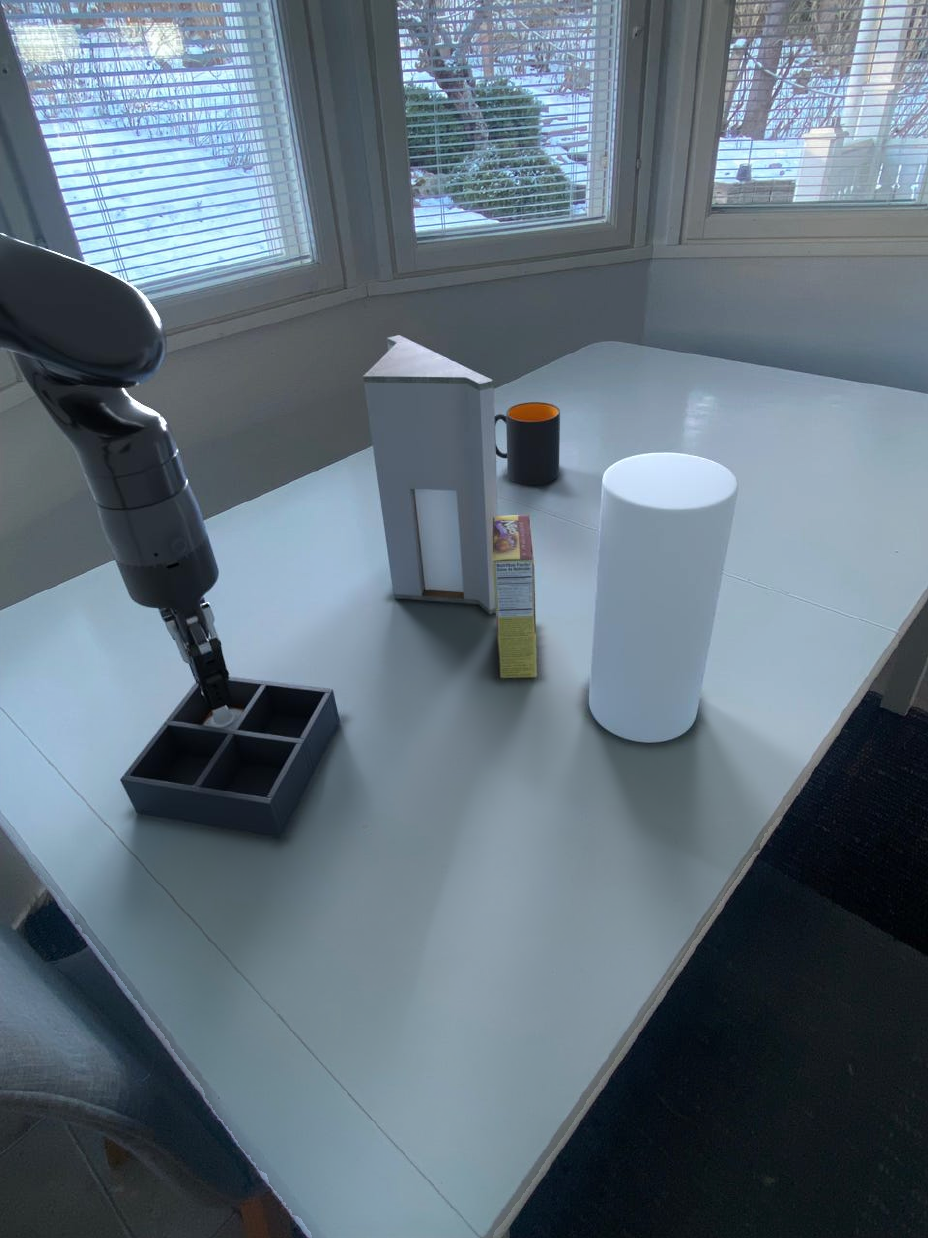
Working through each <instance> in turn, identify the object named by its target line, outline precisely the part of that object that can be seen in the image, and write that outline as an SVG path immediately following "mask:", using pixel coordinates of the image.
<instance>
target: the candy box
mask: <svg viewBox="0 0 928 1238" xmlns="http://www.w3.org/2000/svg"><path fill="white" fill-rule="evenodd" d="M531 528H532V527H531V515H530V514H510V515H509V514H508V515H498V516H495V517H493V574H494V589H495V605H496V612H495V619H496V636H497V648H498V663H499V664H498V665H499V678H500V679H532V678H537V675H538V674H537V673H538V672H537V670H538V669H537V666H538V665H537V624H536V623H537V621H536V620H537V619H536V614H537V613H536V583H535V581H536V580H535V579H536V577H535V556H534V555H535V554H534V547H533V538H532V529H531Z"/></svg>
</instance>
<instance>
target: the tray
mask: <svg viewBox="0 0 928 1238" xmlns="http://www.w3.org/2000/svg"><path fill="white" fill-rule="evenodd" d="M226 683H227V686H228V689H229V692H230V695H231V698H232V701H231V703H230V704H228V705H226V706H227V708H228V709H238V710H241V711H243V713H242V714H241V716H240V717H239V719H238V720H237V722H236V723H235V725H234V726H233V728H232V729H225V728H218V727H211V726H204V725H203V724H204V723H205V721H206V720H207V719H208V718H209V717H211V716H212V715H213V711H212V710H210V709H209V708H208V705H207V703H206V701H205V698H204V696H203V695H202V690H201V687H199V685H198V684H197V683H196V682H195V683H194V684H193V685H192V687H191V688H190V689H189V690H188V692H187V693H186V694H185V695H184V696H183V698H182V699H181V701H180V702H179V703H178V704H177V705H176V707H175V708H174V710H173V711H172V712H171V713H170V715H169V716H168V717H167V718H166V720H165V721H164V723H163V724H162V725H161V727H160V728H159V729H158V730H157V731H156V733H155V734H154V736H152V738H151V739H150V740H149V742H148V743H147V744H146V745H145V747H144V748H143V750H141V752H140V753H139V755H138V756H137V757H136V758H135V760H134V761H133V762H132V764H131V765H130V766H129V767H128V768H127V769H126V771H125V773H124V774H123V775H122V776H121V778H120V779H119V782H120V783H121V785H122V787H123V789H124V791H125V793H126V794H127V796H128V799H129V801H130V802H131V805H132V807H133V808H134V811H135V813H136V814H139V815H145V816H151V817H155V818H156V817H157V818H163V819H168V820H173V821H179V822H184V823H185V822H186V823H191V824H197V825H203V826H208V827H214V828H220V829H227V830H231V831H238V832H242V833H243V832H244V833H249V834H250V833H251V834H255V835H260V836H261V835H262V836H266V837H272V838H273V837H274V838H278V839H281V838H282V837H283V836H284V833H285V830H286V829H287V828H288V825H289V823H290V821H291V819H292V817H293V815H294V813H295V811H296V810H297V807H298V806H299V803H300V801H301V799H302V798H303V796H304V794H305V792H306V790H307V788H308V786H309V784H310V782H311V780H312V778H313V776H314V774H315V773H316V772H317V771H316V770H317V768H318V766H319V765H320V763H321V761H322V759H323V757H324V755H325V753H326V752H327V749H328V747H329V745H330V743H331V741H332V739H333V737H334V736H335V733H336V732H337V730H338V728H339V726H340V724H341V719H340V714H339V710H338V705H337V701H336V696H335V691H334V689H333V688H327V687H319V686H312V685H302V684H295V683H286V682H278V681H271V680H270V681H268V680H261V679H254V678H253V679H252V678H244V677H236V676H229V679H228V680H226Z"/></svg>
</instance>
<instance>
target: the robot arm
mask: <svg viewBox="0 0 928 1238" xmlns="http://www.w3.org/2000/svg"><path fill="white" fill-rule="evenodd" d="M167 343H168V342H167V333H166V330H165V326H164V324H163V322H162V319H161V317H160V315H159V313H158V311H157V310H156V308H155V307H154V305H153V304H152V302H150V301H149V300H148V298H147V297H146V296H145V295H144V293H142V292H141V291H140V290H138V289H137V288H136V287H134V286H133V285H132V284H130V283H129V282H127V281H125V280H124V279H122V278H120V277H118V276H116V275H115V274H113V273H111V272H108V271H106V270H103V269H101V268H98V267H96V266H93V265H91V264H88V263H86V262H83V261H80V260H78V259H75V258H73V257H72V258H71V257H69V256H66V255H63V254H61V253H58V252H55V251H52V250H50V249H46V248H44V247H41V246H38V245H34V244H31V243H28V242H25V241H22V240H19V239H16V238H14V237H12V236H9V235H6V234H4V233H2V232H0V349H1V350H5V351H9V352H11V355H12V357H13V359H14V361H15V363H16V366H17V368H18V370H19V372H20V374H21V375H22V377H23V378H24V380H25V382H26V383H27V385H28V386H29V387H30V389H31V390H32V392H33V394H34V395H35V397H36V398H37V399H38V401H39V402H40V404H41V406H42V407H43V408H44V410H45V411H46V412H47V414H48V415H49V417H50V419H51V420H52V422H53V423H54V425H55V426H56V427H57V429H58V430H59V431H60V433H61V434H62V435H63V436H64V437H65V439H66V440H67V441H68V443H69V444H70V445H71V447H72V448H73V450H74V451H75V454H76V456H77V459H78V462H79V464H80V467H81V470H82V472H83V474H84V477H85V480H86V482H87V484H88V487H89V491H90V492H91V495H92V497H93V500H94V502H95V505H96V509H97V513H98V516H99V521H100V525H101V528H102V531H103V534H104V536H105V539H106V541H107V543H108V546H109V548H110V549H109V550H110V551H111V553H112V556H113V558H114V561H115V563H116V566H117V568H118V571H119V573H120V576H121V578H122V580H123V583H124V586H125V588H126V590H127V593H128V595H129V597H130V599H131V600H132V601H133V602H135V603H136V604H138V605H139V606H142V607H145V608H150V609H157V611H158V612H159V615H160V617H161V619H162V621H163V622H164V624H165V627H166V630H167V632H168V633H169V635H170V636H171V638H172V640H173V641H175V644H176V646H177V649H178V651H179V654H180V657H181V658H182V660H183V662H184V663H185V664H188V666H189V668H190V671H191V674H192V676H193V679H194V681H195V683H197V684H198V685H199V687H201V690H202V692H203V695H204V698H205V701H206V703H207V705H208V708H209V709H210V710H216V709H218V708H221V707H223V706H226V705H228V704H230V703H231V701H232V698H231V695H230V692H229V689H228V686H227V683H226V680H228V679H229V677H230V672H229V670H228V669H227V668H228V667H227V664H226V660H225V657H224V653H223V647H222V645H223V644H222V641H221V639H220V637H219V636H218V632H217V630H216V627H215V624H214V623H215V620H216V619H215V616H214V612H213V610H212V608H211V605H210V603H209V602H208V601H207V602H206V600H205V597H204V595H206V594H207V593H208V592H209V591H210V590H212V589H213V587H215V585H216V583H217V582H218V579H219V575H220V571H219V567H218V564H217V559H216V556H215V554H214V550H213V548H212V544H211V540H210V538H209V534H208V531H207V528H206V524H205V521H204V518H203V514H202V512H201V509H200V506H199V502H198V501H197V498H196V495H195V494H194V492H193V490H192V488H191V485H190V483H189V481H188V477H187V474H186V471H185V468H184V465H183V461H182V458H181V454H180V452H179V448H178V446H177V442H176V439H175V437H174V434H173V431H172V429H171V427H170V425H169V422H168V421H167V419H166V418H165V417H164V416H163V415H162V414H160V413H159V412H158V411H156V410H154V409H152V408H150V407H148V406H145V405H143V404H141V403H140V402H138V401H137V400H135V399H134V397H132V396H131V395H130V394H129V393H128V391H127V390H126V389H129V388H135V387H136V386H140V385H142V384H145V383H146V382H147V381H149V380H150V379H152V378H153V377H154V376H155V375H156V374H157V372H158V371H159V370H160V368H161V367H162V365H163V363H164V361H165V358H166V355H167V349H168V348H167V347H168V346H167Z"/></svg>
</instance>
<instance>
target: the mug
mask: <svg viewBox="0 0 928 1238" xmlns="http://www.w3.org/2000/svg"><path fill="white" fill-rule="evenodd" d="M500 420H502V421H503V422H504V423H505V427H506V429H505V431H506V452H505V453H504V452H502V451H500V449H499V448H498V446H497V437H496V435H495V443H496V456H497V457H499V458H501V459H506V462H507V463H506V464H507V469H506V471H507V477H508V478H509V479H510V480H511V481H512V482H514V483H516V484H520V485H523V486H524V485H525V486H538V485H539V486H540V485H545V484H548V483H551V482H553V481H555V480H556V479H557V478H558V477H559V475H560V449H561V448H560V445H561V444H560V443H561V441H560V440H561V410H560V408H559V407H558V406H556V405H554V404H552V403H548V402H540V401H530V402H529V401H528V402H522V403H517V404H515V405H513V406H511V407H509V408H507V410H506V412H505V414H502V413H499V414H496V415H495V426H497V422H498V421H500Z"/></svg>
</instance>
